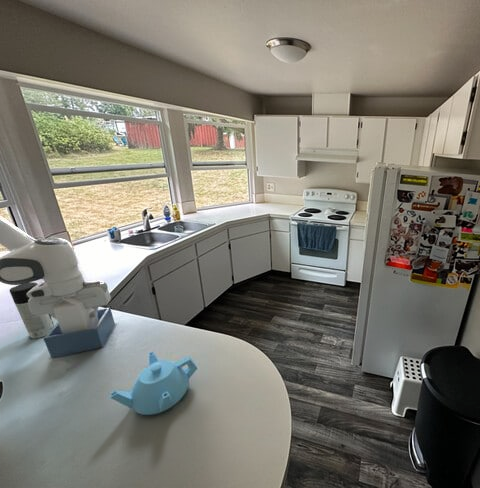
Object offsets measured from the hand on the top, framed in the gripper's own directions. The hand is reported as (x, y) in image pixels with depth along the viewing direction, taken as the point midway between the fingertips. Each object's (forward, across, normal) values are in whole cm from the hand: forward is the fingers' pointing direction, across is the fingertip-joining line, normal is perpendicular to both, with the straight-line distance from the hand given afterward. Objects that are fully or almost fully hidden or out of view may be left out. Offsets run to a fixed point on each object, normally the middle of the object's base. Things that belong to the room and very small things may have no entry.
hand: (78, 319), depth 89 cm
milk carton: (+8, 0, 0) cm, 8 cm away
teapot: (+9, -29, +36) cm, 47 cm away
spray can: (+9, +16, -10) cm, 21 cm away
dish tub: (+9, 0, 0) cm, 9 cm away
